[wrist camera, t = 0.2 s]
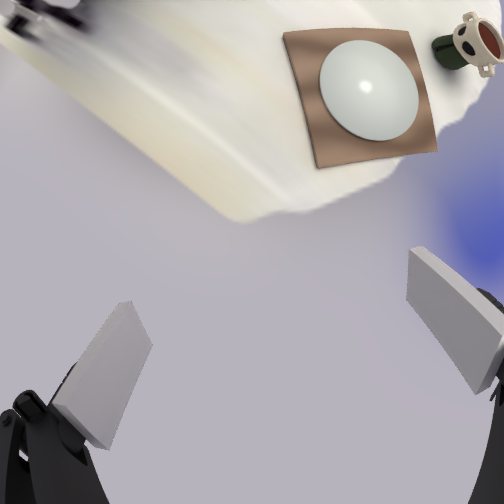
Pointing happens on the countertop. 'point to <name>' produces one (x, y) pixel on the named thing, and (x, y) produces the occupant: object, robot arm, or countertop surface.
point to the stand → (321, 121)
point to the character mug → (471, 46)
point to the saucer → (368, 90)
